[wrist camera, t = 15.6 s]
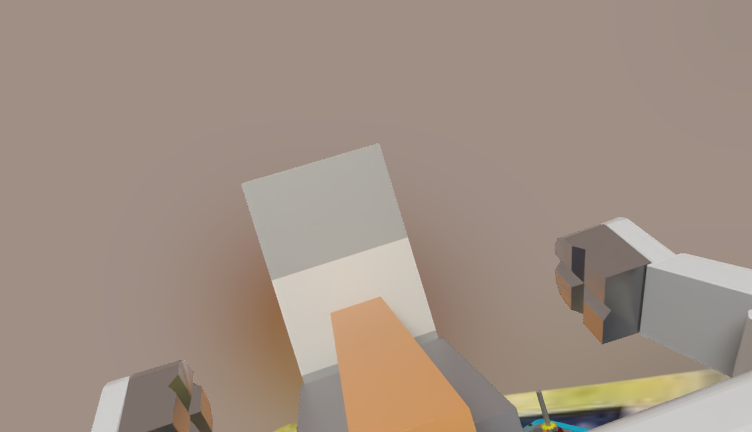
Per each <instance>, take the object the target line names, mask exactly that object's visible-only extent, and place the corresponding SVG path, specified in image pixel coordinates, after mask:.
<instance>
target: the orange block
mask: <svg viewBox="0 0 752 432" xmlns="http://www.w3.org/2000/svg"><path fill="white" fill-rule="evenodd" d="M330 314H331V321H332V327H333V334H334V340H335V347H336V353H337V360H338V366H339V373H340V379H341V386H342V392H343V398H344V405H345V411H346V418H347V424H348V431H349V432H477V431H476V428H475V425H474V422H473V418H472V415H471V412H470V408H469V407H468V406H467V405H466V403H465V402H464V401H463V399H462V398H461V397H460V396H459V394H458V393H457V392H456V391H455V389H454V388H453V387H452V386H451V384H450V383H449V382H448V381H447V379H446V378H445V377H444V376H443V374H442V373H441V372H440V371H439V369H438V368H437V367H436V365H435V364H434V363H433V362H432V360H431V359H430V358H429V357H428V355H427V354H426V353H425V352H424V350H423V349H422V348H421V347H420V345H419V344H418V343H417V342H416V340H415V339H414V338H413V337H412V335H411V334H410V333H409V331H408V330H407V329H406V328H405V326H404V325H403V324H402V323H401V321H400V320H399V319H398V318H397V316H396V315H395V314H394V313H393V311H392V310H391V309H390V308H389V306H388V305H387V304H386V303H385V301H384V300H383V299H382V297H381V296H380V297H377V298H374V299H371V300H368V301H365V302H362V303H359V304H356V305H353V306H350V307H347V308H343V309H340V310H337V311H334V312H331V313H330Z"/></svg>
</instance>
